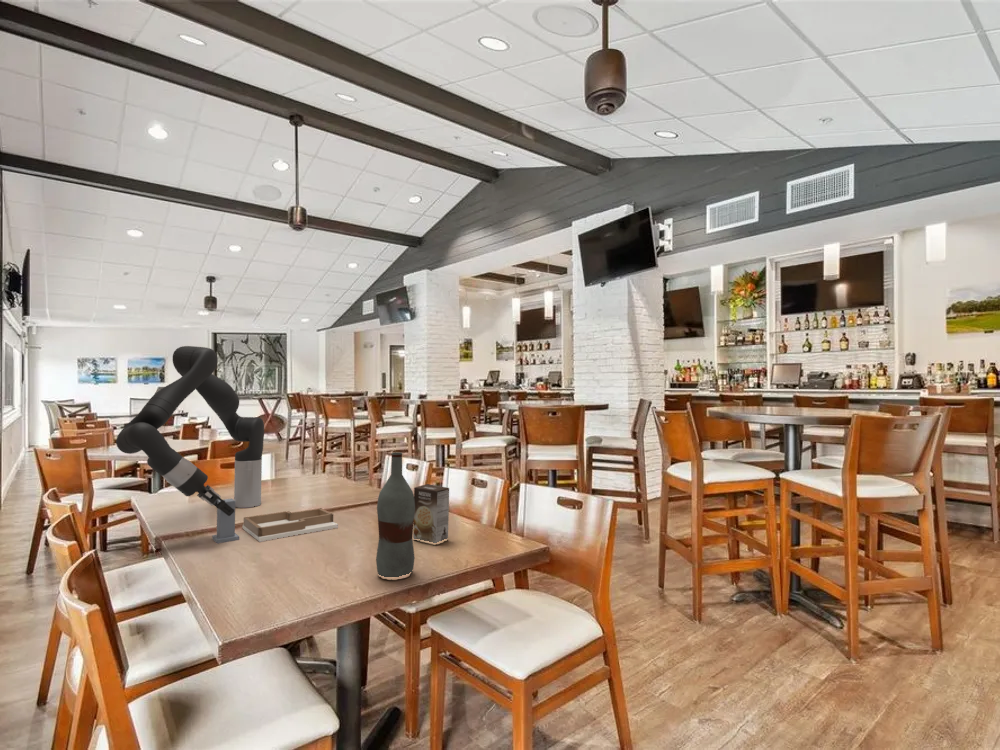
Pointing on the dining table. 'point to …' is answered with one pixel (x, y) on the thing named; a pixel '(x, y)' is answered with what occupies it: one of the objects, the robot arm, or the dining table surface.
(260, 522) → the keyhole guide board
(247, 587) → the dining table surface
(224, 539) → the slate keyhole peg
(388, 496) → the bottle
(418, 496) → the coffee box
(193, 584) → the dining table surface
